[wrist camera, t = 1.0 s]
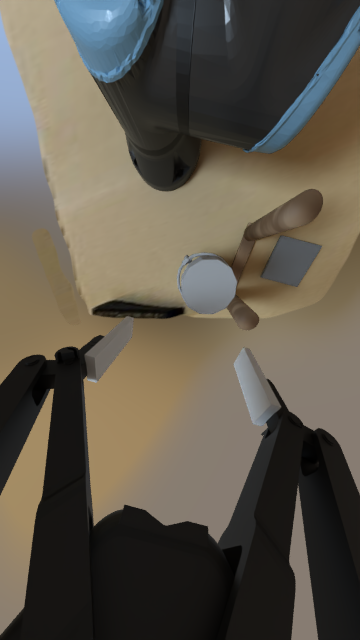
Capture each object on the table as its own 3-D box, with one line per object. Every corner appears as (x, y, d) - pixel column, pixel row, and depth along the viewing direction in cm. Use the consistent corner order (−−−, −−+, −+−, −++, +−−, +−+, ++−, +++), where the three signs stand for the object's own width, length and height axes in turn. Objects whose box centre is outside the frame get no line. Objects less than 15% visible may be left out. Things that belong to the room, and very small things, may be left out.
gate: (246, 223, 33) (300, 185, 16) (261, 226, 33) (330, 193, 16) (218, 298, 41) (233, 327, 24) (229, 301, 41) (253, 332, 24)
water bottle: (220, 270, 38) (256, 289, 15) (199, 290, 41) (203, 330, 18) (198, 244, 36) (201, 221, 13) (177, 267, 39) (151, 279, 16)
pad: (280, 235, 33) (282, 235, 33) (319, 246, 33) (322, 246, 33) (260, 277, 38) (261, 277, 37) (295, 286, 38) (297, 286, 37)
